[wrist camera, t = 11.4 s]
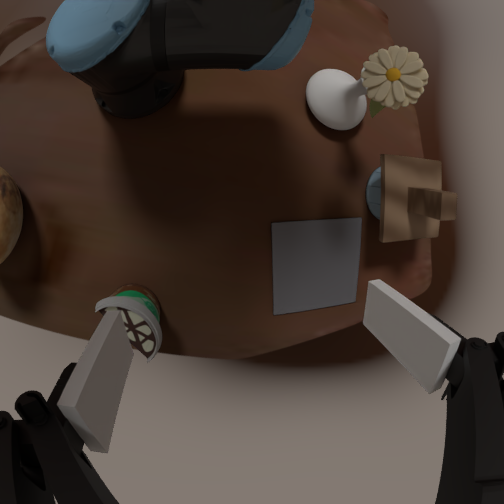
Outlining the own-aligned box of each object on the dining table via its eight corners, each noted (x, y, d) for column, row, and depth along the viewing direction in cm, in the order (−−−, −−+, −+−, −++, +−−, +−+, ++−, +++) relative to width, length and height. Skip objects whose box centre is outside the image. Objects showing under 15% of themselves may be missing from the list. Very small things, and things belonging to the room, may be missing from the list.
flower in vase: (322, 60, 38) (409, -2, 14) (370, 100, 41) (473, 72, 18) (284, 110, 40) (367, 57, 16) (337, 151, 43) (447, 146, 20)
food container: (181, 314, 47) (177, 346, 38) (157, 331, 47) (149, 365, 38) (135, 262, 43) (118, 286, 34) (111, 282, 43) (92, 309, 34)
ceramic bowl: (365, 163, 45) (388, 163, 38) (408, 167, 46) (432, 168, 40) (364, 222, 48) (386, 230, 41) (407, 220, 49) (429, 227, 43)
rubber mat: (271, 222, 45) (271, 223, 45) (360, 217, 47) (361, 217, 47) (273, 314, 50) (273, 315, 50) (354, 301, 52) (355, 301, 52)
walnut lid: (380, 154, 37) (418, 154, 29) (436, 161, 39) (473, 164, 31) (378, 240, 41) (414, 257, 33) (434, 235, 43) (468, 248, 35)
